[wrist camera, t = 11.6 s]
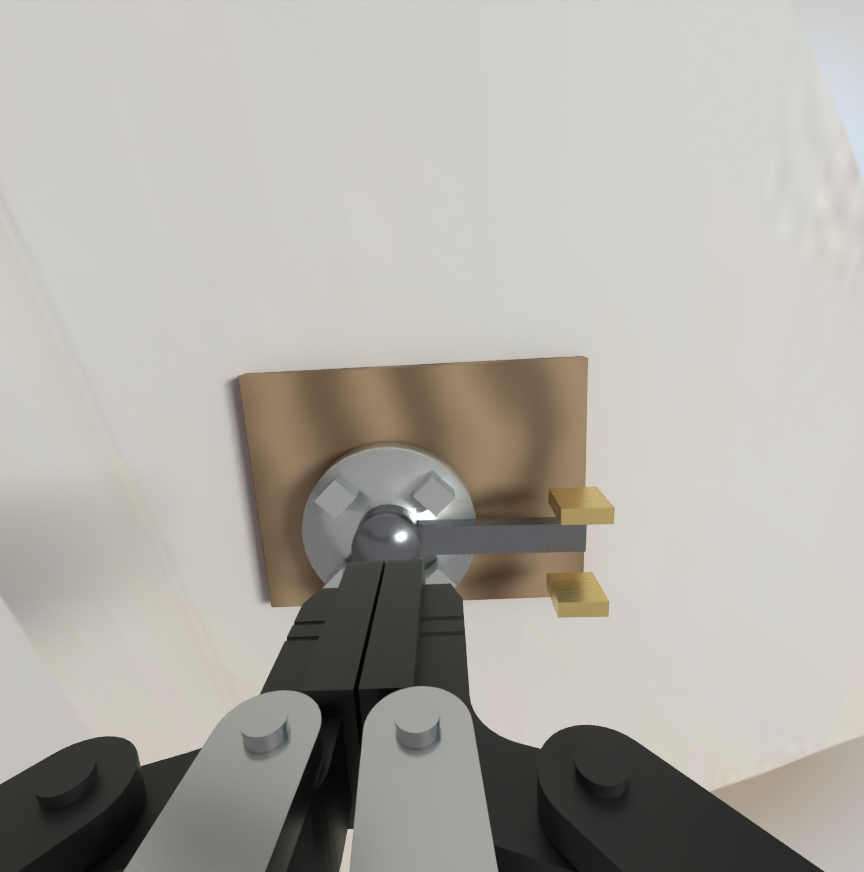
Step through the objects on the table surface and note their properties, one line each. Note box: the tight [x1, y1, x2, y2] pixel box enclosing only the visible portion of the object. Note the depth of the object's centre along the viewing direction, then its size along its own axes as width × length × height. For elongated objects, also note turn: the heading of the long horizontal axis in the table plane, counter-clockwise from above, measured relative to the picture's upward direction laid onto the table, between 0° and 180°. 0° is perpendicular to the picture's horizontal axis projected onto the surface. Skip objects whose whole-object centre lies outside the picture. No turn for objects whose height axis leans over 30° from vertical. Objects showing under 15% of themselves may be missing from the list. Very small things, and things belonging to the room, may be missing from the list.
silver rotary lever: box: [302, 440, 614, 617], centre depth 33 cm, size 12×20×7 cm, turn 92°
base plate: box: [238, 356, 588, 607], centre depth 37 cm, size 24×18×2 cm
